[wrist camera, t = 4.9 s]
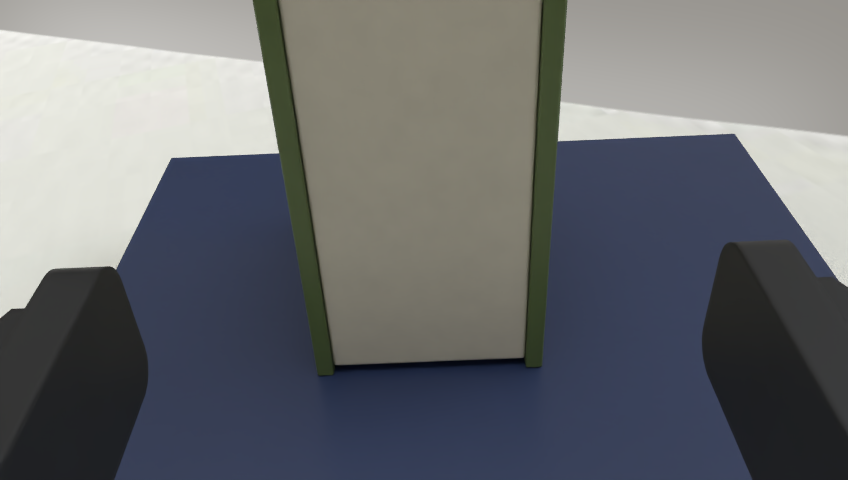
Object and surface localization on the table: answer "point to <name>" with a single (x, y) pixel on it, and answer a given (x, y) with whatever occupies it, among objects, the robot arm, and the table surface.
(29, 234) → the table surface
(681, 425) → the block
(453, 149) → the dictionary
